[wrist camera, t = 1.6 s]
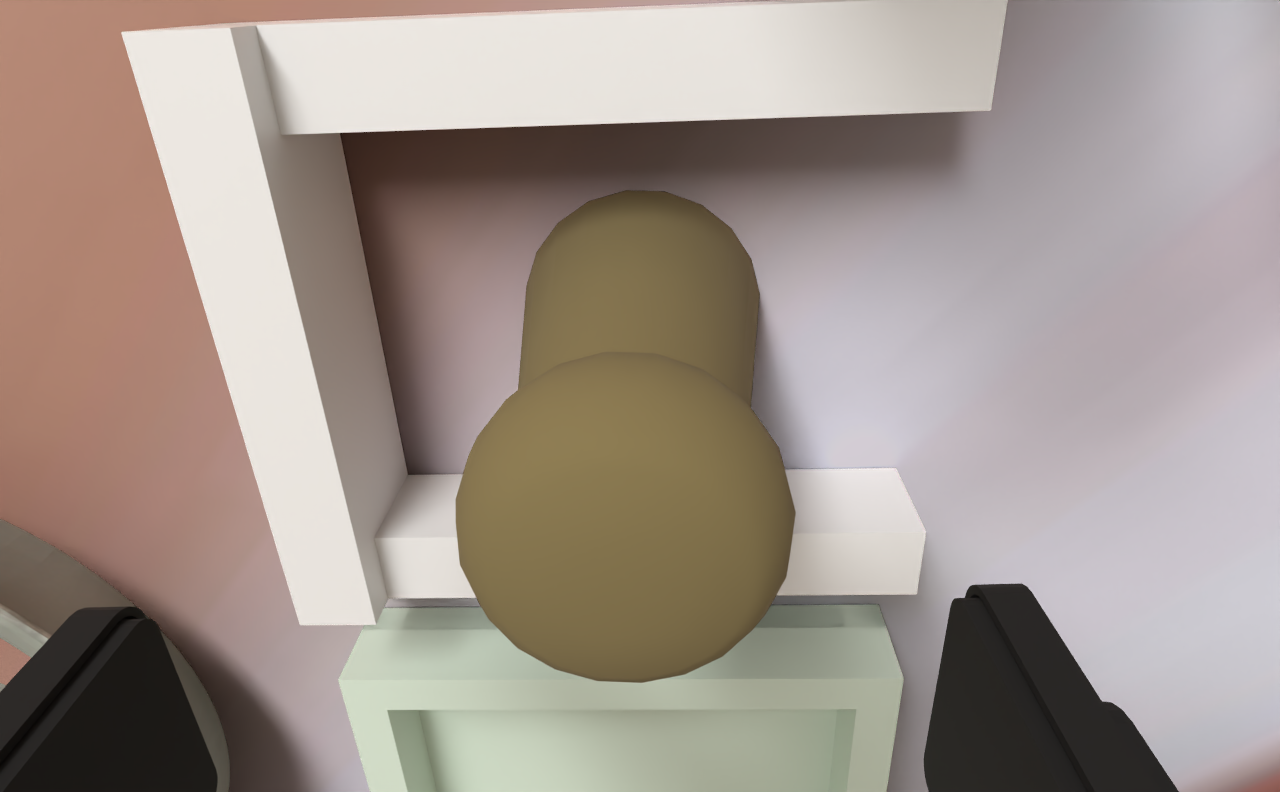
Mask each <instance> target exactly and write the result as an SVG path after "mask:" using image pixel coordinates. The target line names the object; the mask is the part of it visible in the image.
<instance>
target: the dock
mask: <svg viewBox="0 0 1280 792" xmlns="http://www.w3.org/2000/svg"><path fill="white" fill-rule="evenodd" d="M1007 2H1008V0H783V1H758V2H734V3H709V4H684V5H660V6H635V7H610V8H586V9H561V10H536V11H512V12H487V13H462V14H438V15H413V16H389V17H364V18H339V19H315V20H290V21H265V22H241V23H223V24H211V25H199V26H188V27H176V28H164V29H152V30H140V31H128V32H121V33H122V36H123V39H124V43H125V46H126V49H127V53H128V56H129V59H130V63H131V66H132V69H133V73H134V76H135V79H136V83H137V86H138V89H139V93H140V96H141V99H142V102H143V106H144V109H145V112H146V116H147V119H148V122H149V126H150V129H151V132H152V136H153V139H154V142H155V146H156V149H157V152H158V156H159V159H160V162H161V166H162V169H163V172H164V176H165V179H166V182H167V185H168V189H169V192H170V195H171V199H172V202H173V205H174V209H175V212H176V215H177V219H178V222H179V225H180V229H181V232H182V235H183V239H184V242H185V245H186V249H187V252H188V255H189V258H190V262H191V265H192V268H193V272H194V275H195V278H196V282H197V285H198V288H199V292H200V295H201V298H202V302H203V305H204V308H205V312H206V315H207V318H208V322H209V325H210V328H211V331H212V335H213V338H214V341H215V345H216V348H217V351H218V355H219V358H220V361H221V365H222V368H223V371H224V375H225V378H226V381H227V385H228V388H229V391H230V395H231V398H232V401H233V405H234V408H235V411H236V414H237V418H238V421H239V424H240V428H241V431H242V434H243V438H244V441H245V444H246V448H247V451H248V454H249V458H250V461H251V464H252V468H253V471H254V474H255V478H256V481H257V484H258V487H259V491H260V494H261V497H262V501H263V504H264V507H265V511H266V514H267V517H268V521H269V524H270V527H271V531H272V534H273V537H274V541H275V544H276V547H277V551H278V554H279V557H280V560H281V564H282V567H283V570H284V574H285V577H286V580H287V584H288V587H289V590H290V594H291V597H292V600H293V604H294V607H295V610H296V614H297V617H298V620H299V624H300V625H376V624H377V622H378V620H379V617H380V615H381V613H382V611H383V609H384V606H385V604H386V602H387V600H388V598H476V596H475V594H474V592H473V590H472V588H471V586H470V584H469V582H468V580H467V578H466V576H465V574H464V572H463V570H462V568H461V566H460V561H459V551H458V541H457V531H456V496H457V493H458V489H459V486H460V483H461V479H462V476H463V474H437V475H408V473H407V468H406V463H405V458H404V453H403V448H402V443H401V438H400V433H399V428H398V423H397V418H396V413H395V408H394V403H393V398H392V393H391V388H390V382H389V377H388V372H387V367H386V362H385V357H384V352H383V347H382V342H381V337H380V332H379V327H378V322H377V317H376V312H375V307H374V302H373V297H372V292H371V287H370V282H369V277H368V272H367V267H366V262H365V257H364V252H363V247H362V242H361V237H360V232H359V227H358V222H357V217H356V212H355V207H354V202H353V197H352V191H351V186H350V181H349V176H348V171H347V166H346V161H345V156H344V151H343V146H342V141H341V136H340V133H349V132H378V131H407V130H437V129H466V128H495V127H525V126H554V125H583V124H613V123H642V122H671V121H701V120H730V119H760V118H789V117H818V116H848V115H877V114H906V113H936V112H965V111H991V107H992V100H993V94H994V87H995V81H996V74H997V67H998V61H999V54H1000V48H1001V41H1002V35H1003V28H1004V22H1005V15H1006V9H1007ZM785 472H786V476H787V480H788V484H789V488H790V492H791V496H792V500H793V503H794V507H795V511H796V515H795V522H794V529H793V537H792V544H791V551H790V558H789V564H788V570H787V576H786V579H785V581H784V582H783V584H782V586H781V588H780V590H779V591H778V593H777V595H776V596H779V595H912V594H917V589H918V583H919V576H920V570H921V563H922V557H923V550H924V544H925V537H926V530H925V528H924V526H923V524H922V522H921V520H920V518H919V516H918V514H917V511H916V509H915V507H914V505H913V503H912V501H911V499H910V497H909V494H908V492H907V490H906V488H905V486H904V484H903V482H902V480H901V478H900V475H899V473H898V471H897V469H896V468H850V469H785Z"/></svg>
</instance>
